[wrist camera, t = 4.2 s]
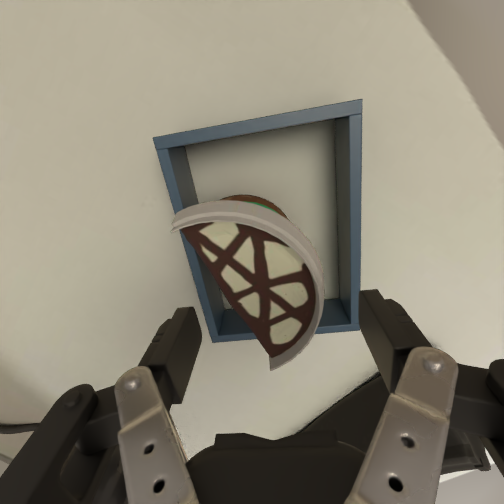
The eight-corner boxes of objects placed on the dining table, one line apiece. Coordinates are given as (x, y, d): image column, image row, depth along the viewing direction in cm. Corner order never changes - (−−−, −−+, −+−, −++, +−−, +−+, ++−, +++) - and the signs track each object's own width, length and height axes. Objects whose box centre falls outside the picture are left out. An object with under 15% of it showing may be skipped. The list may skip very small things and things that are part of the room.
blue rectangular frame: (219, 316, 28) (212, 343, 25) (172, 136, 21) (152, 137, 17) (347, 303, 27) (360, 330, 23) (344, 105, 19) (362, 98, 16)
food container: (328, 268, 25) (362, 345, 16) (272, 293, 27) (274, 376, 18) (268, 149, 21) (268, 162, 12) (205, 187, 23) (163, 223, 13)
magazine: (520, 404, 19) (281, 683, 21) (546, 423, 19) (311, 691, 22) (379, 309, 35) (255, 472, 38) (396, 321, 36) (272, 480, 39)
